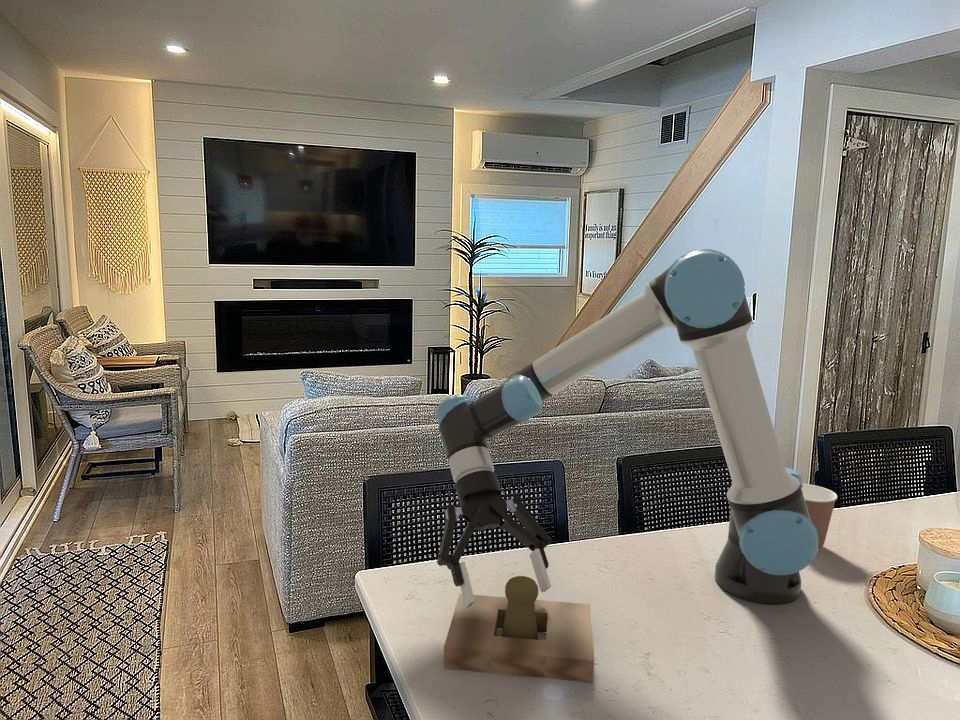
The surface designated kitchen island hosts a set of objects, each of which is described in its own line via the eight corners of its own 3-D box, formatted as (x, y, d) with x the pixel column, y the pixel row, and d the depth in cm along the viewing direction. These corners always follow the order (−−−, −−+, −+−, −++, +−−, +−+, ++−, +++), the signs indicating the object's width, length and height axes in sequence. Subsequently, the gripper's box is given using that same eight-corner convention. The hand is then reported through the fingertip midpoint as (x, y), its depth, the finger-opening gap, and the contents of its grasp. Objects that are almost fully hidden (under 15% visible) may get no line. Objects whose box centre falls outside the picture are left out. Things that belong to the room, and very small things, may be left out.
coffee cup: (827, 539, 155) (833, 487, 153) (834, 559, 145) (841, 503, 143) (777, 532, 158) (782, 480, 156) (780, 550, 149) (785, 496, 147)
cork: (536, 658, 109) (539, 591, 107) (497, 652, 110) (499, 586, 108) (540, 637, 115) (543, 573, 113) (504, 632, 116) (506, 569, 114)
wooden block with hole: (588, 623, 119) (590, 604, 118) (592, 682, 103) (594, 660, 103) (459, 612, 121) (459, 593, 121) (443, 668, 106) (443, 646, 105)
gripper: (529, 479, 133) (566, 590, 122) (402, 495, 123) (430, 618, 112) (544, 460, 127) (585, 575, 117) (412, 476, 117) (443, 603, 107)
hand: (509, 597), depth 115 cm, fingers open, 13 cm apart
